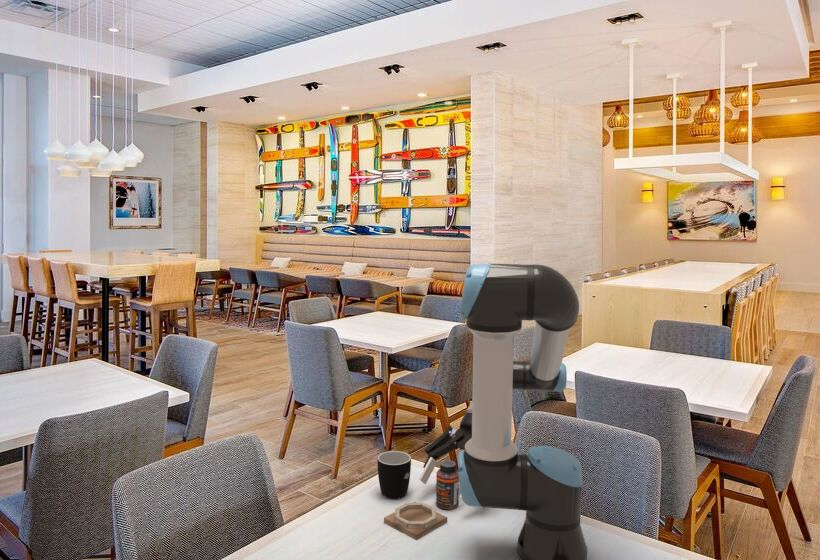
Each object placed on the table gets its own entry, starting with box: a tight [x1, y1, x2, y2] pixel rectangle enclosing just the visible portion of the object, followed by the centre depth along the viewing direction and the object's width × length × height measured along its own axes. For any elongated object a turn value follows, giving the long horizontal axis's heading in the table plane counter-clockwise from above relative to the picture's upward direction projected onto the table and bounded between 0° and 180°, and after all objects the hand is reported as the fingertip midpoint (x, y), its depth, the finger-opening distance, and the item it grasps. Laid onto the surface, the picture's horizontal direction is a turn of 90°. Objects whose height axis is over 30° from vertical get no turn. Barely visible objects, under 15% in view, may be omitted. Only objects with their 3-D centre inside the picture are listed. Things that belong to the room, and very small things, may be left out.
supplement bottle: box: [435, 459, 460, 510], centre depth 151 cm, size 6×6×11 cm
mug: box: [377, 450, 412, 500], centre depth 158 cm, size 12×9×10 cm
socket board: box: [383, 501, 448, 540], centre depth 143 cm, size 11×11×2 cm
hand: (441, 490), depth 149 cm, fingers open, 13 cm apart
